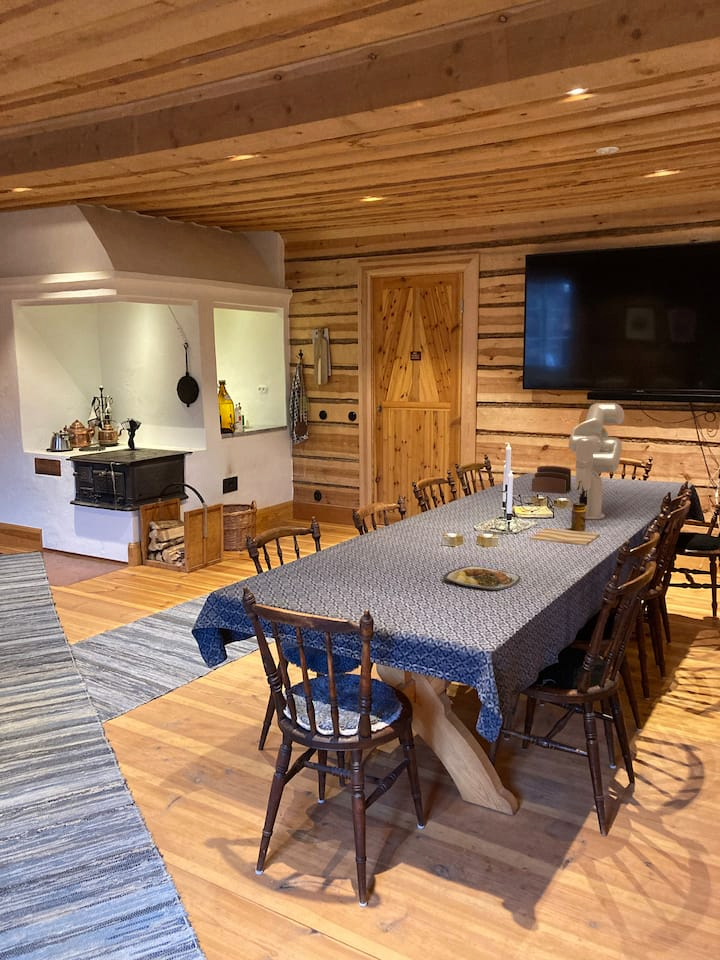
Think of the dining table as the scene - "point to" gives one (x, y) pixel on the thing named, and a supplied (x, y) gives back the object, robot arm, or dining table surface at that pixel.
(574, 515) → the condiment
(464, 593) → the dining table surface
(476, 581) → the meal
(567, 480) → the letter holder
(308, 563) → the dining table surface
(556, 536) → the oak board
